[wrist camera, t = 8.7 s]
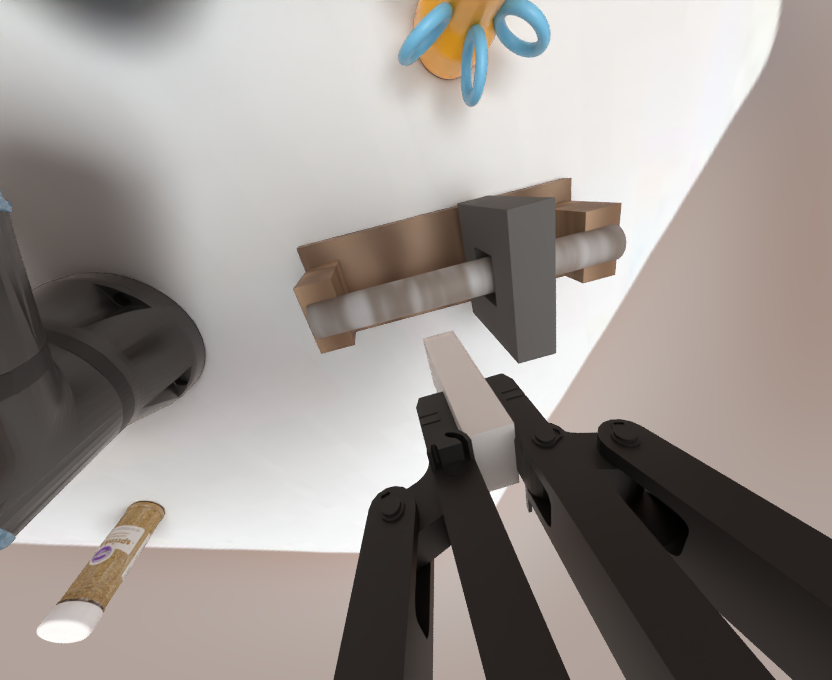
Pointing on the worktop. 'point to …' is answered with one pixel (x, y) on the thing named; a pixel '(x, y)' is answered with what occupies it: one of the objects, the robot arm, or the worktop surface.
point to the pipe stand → (436, 265)
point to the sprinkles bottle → (101, 576)
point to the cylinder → (469, 38)
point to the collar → (515, 270)
